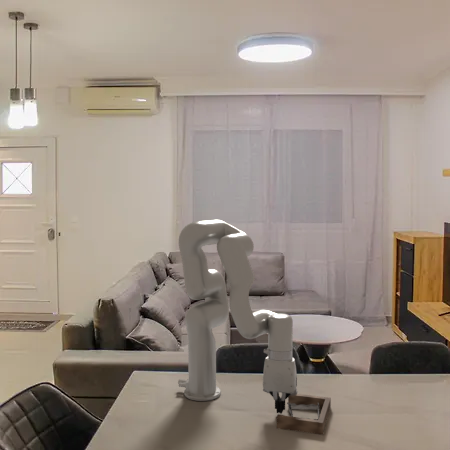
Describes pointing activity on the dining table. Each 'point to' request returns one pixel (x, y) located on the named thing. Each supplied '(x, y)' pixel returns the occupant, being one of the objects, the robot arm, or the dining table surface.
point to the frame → (304, 423)
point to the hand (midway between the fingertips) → (280, 411)
